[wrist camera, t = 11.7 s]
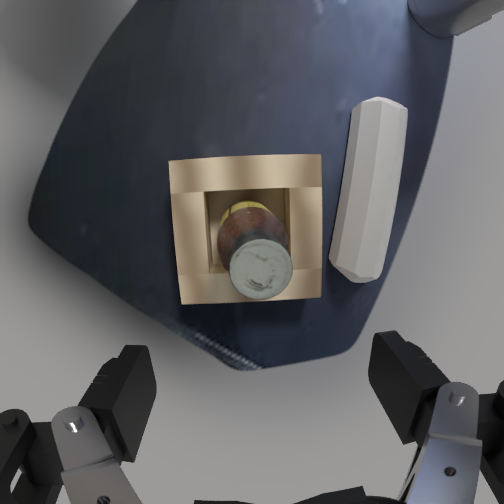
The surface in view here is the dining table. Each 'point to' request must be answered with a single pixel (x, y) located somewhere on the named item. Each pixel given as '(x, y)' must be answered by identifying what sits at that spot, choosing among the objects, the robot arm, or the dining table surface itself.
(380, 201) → the crystal
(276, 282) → the sauce bottle
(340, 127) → the dining table surface
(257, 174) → the socket block
